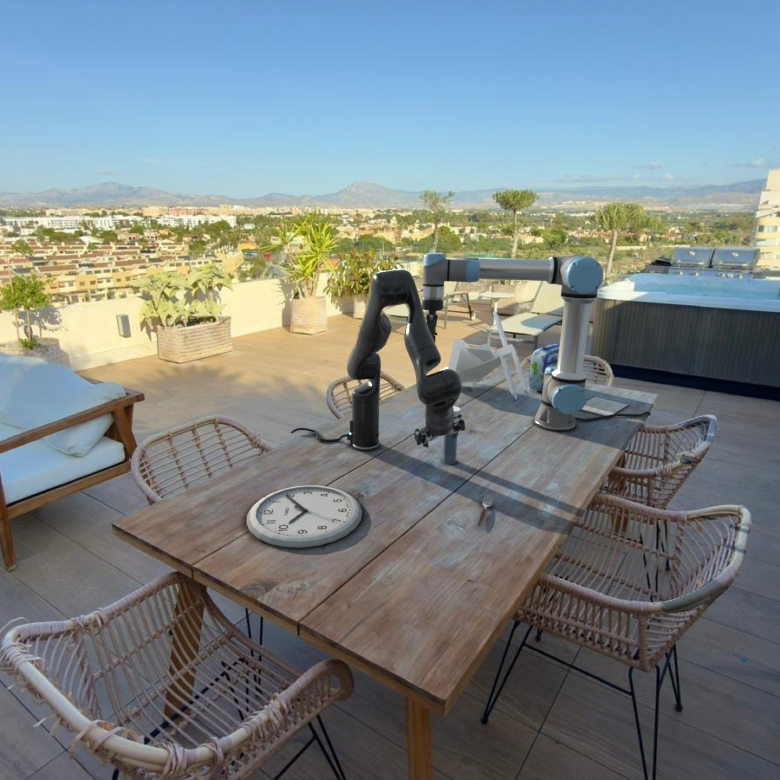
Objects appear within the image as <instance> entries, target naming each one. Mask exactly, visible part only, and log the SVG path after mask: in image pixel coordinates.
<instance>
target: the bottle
mask: <svg viewBox="0 0 780 780" xmlns="http://www.w3.org/2000/svg"><path fill="white" fill-rule="evenodd" d="M456 418H458V416H457V417H454V419H456ZM456 425H458V424H456ZM457 451H458V436H456V438H455V439H454V438H453V435H452V434H449V433H448V434H446V435H443V451H442V452H443V453H442V462H443V463H444V464H446V465H453V464H456V462H457Z"/></svg>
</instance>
